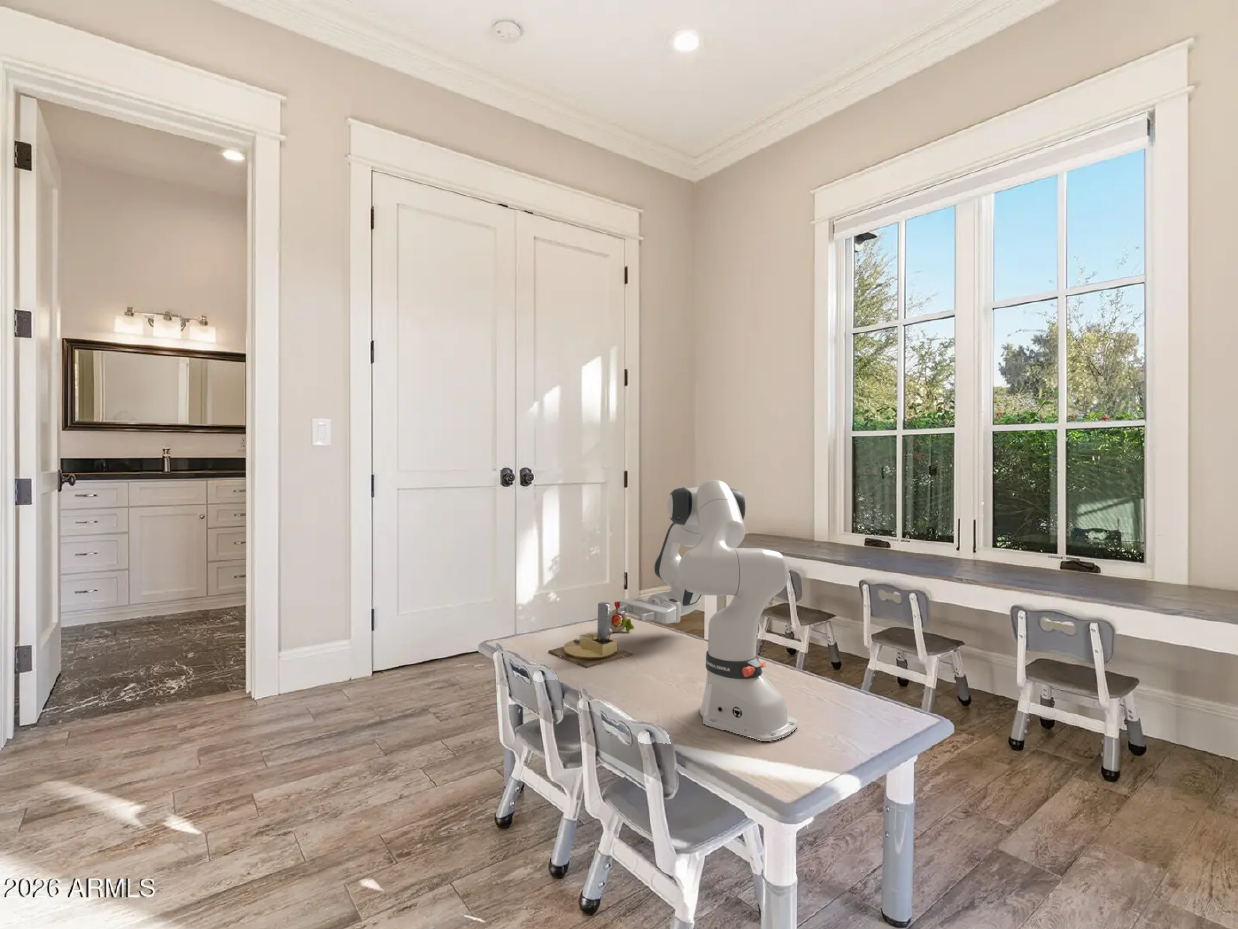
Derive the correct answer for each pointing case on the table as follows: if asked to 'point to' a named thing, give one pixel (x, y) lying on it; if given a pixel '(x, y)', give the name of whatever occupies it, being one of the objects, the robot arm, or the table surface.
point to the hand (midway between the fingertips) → (629, 614)
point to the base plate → (590, 663)
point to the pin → (603, 623)
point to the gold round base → (590, 648)
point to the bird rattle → (619, 620)
